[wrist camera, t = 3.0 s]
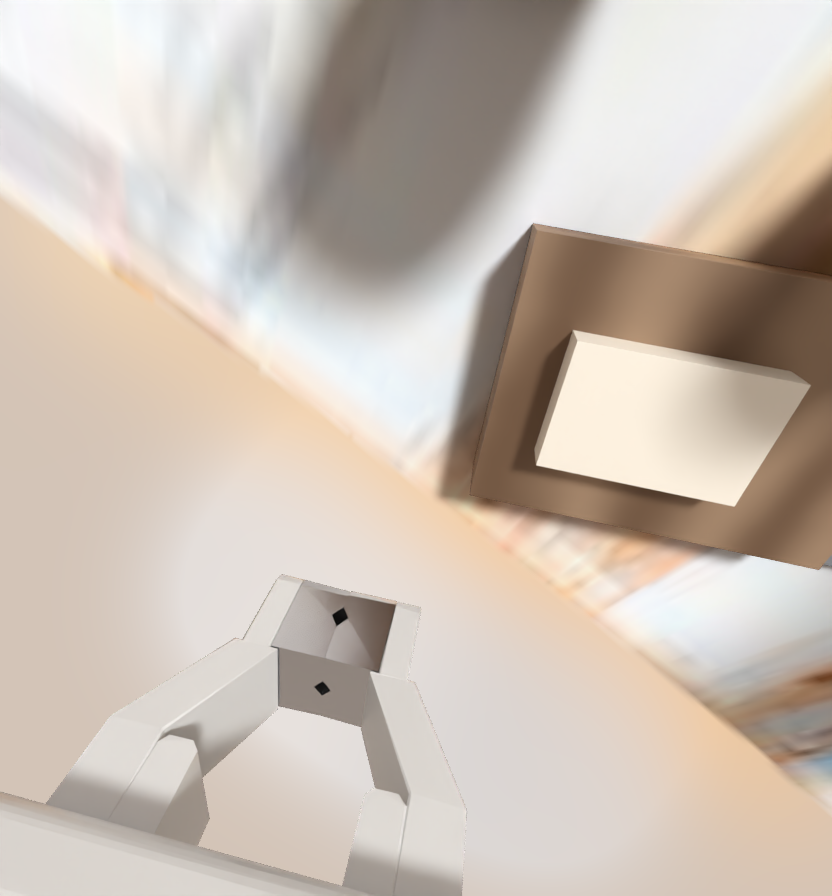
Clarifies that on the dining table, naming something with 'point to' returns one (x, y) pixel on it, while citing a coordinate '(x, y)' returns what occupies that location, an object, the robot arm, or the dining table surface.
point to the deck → (682, 328)
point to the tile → (664, 417)
